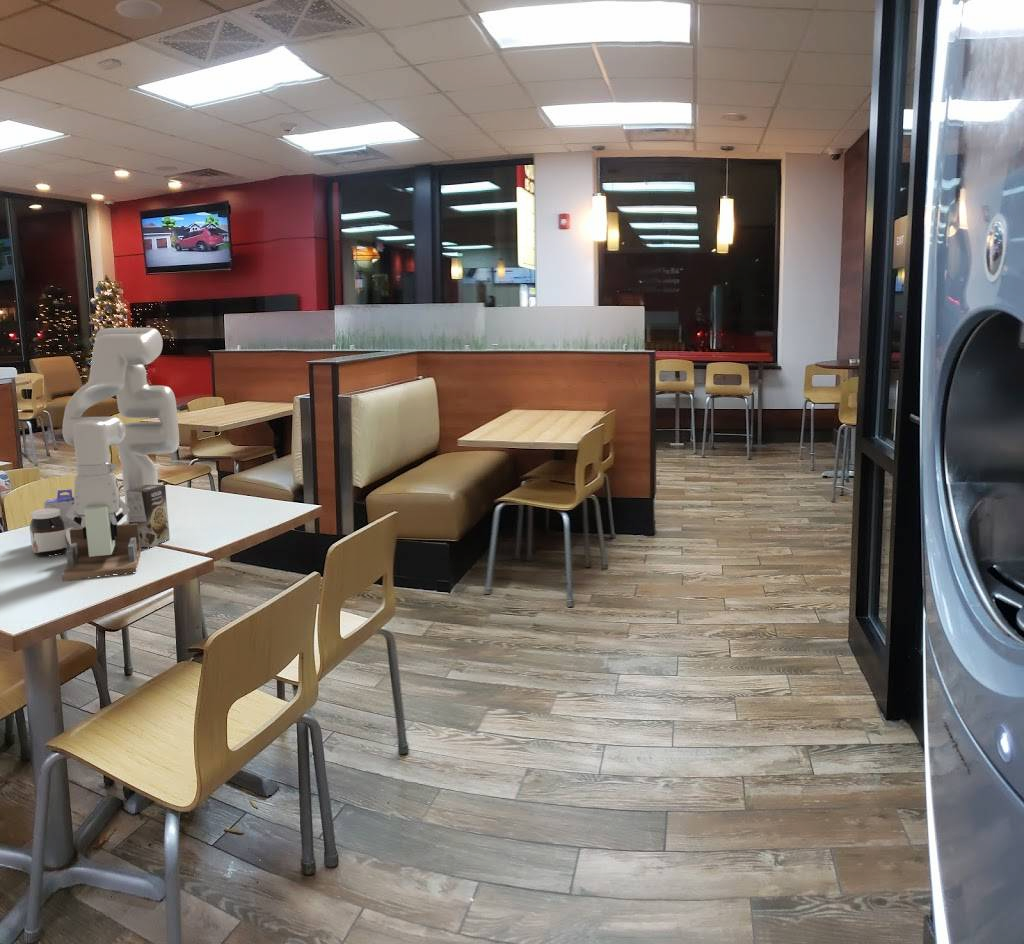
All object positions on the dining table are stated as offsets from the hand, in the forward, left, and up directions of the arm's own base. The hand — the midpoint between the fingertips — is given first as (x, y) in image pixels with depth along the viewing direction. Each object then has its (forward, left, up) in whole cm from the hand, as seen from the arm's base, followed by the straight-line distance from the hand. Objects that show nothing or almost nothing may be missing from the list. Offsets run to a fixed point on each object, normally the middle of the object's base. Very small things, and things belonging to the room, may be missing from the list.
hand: (101, 539), depth 205 cm
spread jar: (-18, -13, -7) cm, 23 cm away
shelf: (+1, 0, -7) cm, 7 cm away
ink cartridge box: (-30, -12, -7) cm, 33 cm away
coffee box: (-18, +10, -7) cm, 22 cm away
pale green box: (0, 0, -3) cm, 3 cm away
